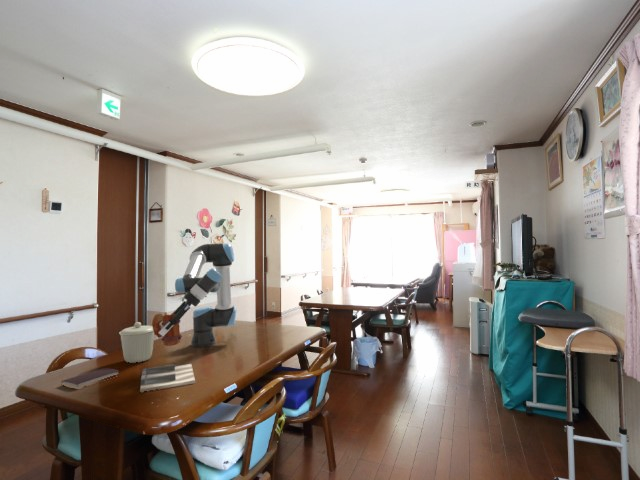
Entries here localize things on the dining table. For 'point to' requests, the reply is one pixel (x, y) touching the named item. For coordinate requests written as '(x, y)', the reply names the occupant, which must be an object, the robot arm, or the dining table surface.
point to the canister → (137, 343)
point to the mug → (172, 335)
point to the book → (90, 377)
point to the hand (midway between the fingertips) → (160, 332)
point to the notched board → (166, 377)
